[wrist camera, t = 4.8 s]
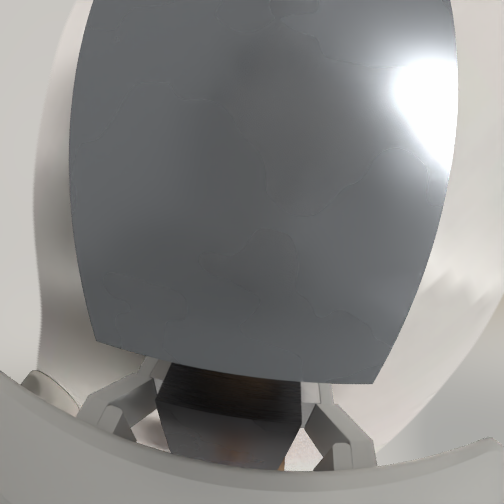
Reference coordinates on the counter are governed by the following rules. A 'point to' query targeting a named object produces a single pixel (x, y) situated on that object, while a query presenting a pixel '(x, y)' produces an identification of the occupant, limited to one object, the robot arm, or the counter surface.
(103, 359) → the counter surface
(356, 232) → the matte grey rectangular block
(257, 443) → the hammer
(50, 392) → the silver metal cylinder
